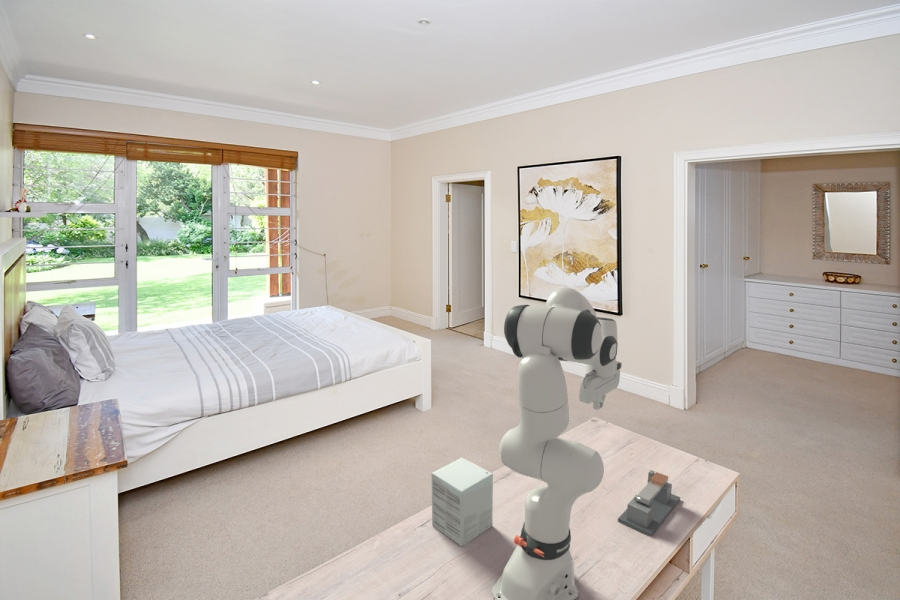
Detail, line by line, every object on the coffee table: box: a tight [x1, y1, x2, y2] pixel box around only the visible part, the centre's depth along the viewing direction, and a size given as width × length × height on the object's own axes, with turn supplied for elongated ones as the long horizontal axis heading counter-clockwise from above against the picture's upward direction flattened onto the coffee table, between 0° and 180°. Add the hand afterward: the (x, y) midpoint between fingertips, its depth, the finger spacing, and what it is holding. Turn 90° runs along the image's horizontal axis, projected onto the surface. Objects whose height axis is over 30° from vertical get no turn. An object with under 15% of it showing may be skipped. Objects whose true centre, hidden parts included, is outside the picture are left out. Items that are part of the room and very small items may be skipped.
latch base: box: [617, 469, 681, 537], centre depth 147 cm, size 24×10×9 cm, turn 136°
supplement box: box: [431, 457, 494, 547], centre depth 140 cm, size 13×13×18 cm
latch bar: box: [633, 471, 669, 506], centre depth 147 cm, size 17×4×2 cm, turn 135°
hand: (598, 407), depth 151 cm, fingers closed
